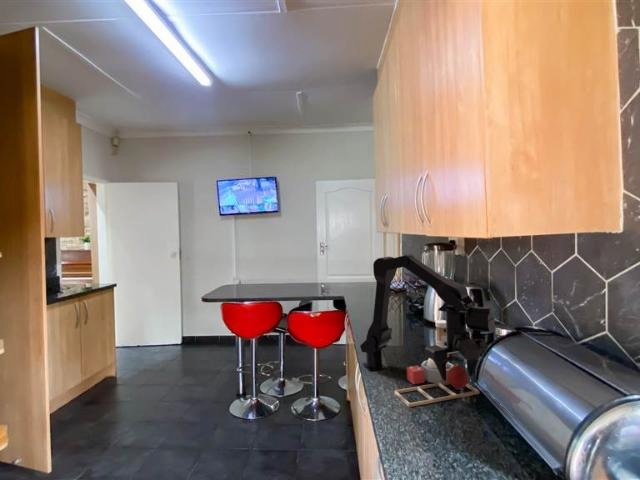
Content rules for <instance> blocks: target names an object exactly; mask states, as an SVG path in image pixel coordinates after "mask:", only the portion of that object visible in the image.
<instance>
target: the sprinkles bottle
mask: <svg viewBox="0 0 640 480" xmlns="http://www.w3.org/2000/svg"><path fill="white" fill-rule="evenodd" d="M435 328H436V329H435V332H436V336H435V337H436V339H435V340H436V341H435V343H436V345H437V346H439V347H441V348H447V346H445V345H444V342H446V341H447V339H446V333H445V332H444V328H446V319H445V320H444V319H438V320H435ZM449 357H450V354H448V355H447V358H449Z"/></svg>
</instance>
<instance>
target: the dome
mask: <svg viewBox="0 0 640 480" xmlns="http://www.w3.org/2000/svg"><path fill="white" fill-rule="evenodd" d="M427 360H428V363H426V367H428V368H429V369H435V370H438V368H437V366H436V364H435V363H434V361H433V360H432V359H430V358H429V357H428V359H427ZM446 369H449V365H448V364H446Z"/></svg>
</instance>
